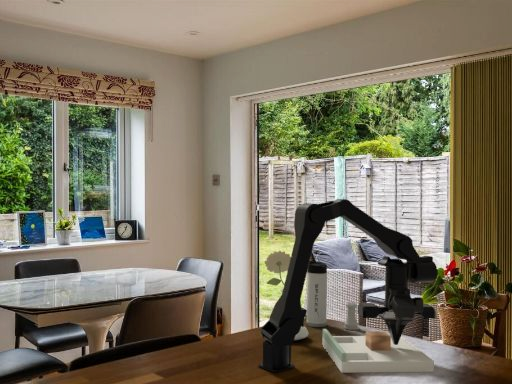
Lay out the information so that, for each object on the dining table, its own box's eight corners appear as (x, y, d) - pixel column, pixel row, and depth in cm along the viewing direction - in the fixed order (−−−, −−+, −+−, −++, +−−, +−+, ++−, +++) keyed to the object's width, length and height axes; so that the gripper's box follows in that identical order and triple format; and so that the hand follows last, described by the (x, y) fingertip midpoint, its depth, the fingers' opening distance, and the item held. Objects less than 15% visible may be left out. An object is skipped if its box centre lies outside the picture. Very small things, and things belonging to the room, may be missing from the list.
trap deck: (341, 372, 128) (341, 353, 128) (322, 345, 151) (322, 328, 151) (433, 371, 129) (434, 352, 129) (400, 344, 152) (401, 328, 152)
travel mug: (314, 321, 179) (315, 260, 179) (330, 325, 174) (331, 262, 174) (301, 324, 174) (302, 261, 174) (317, 328, 170) (318, 263, 170)
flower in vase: (311, 335, 162) (312, 249, 162) (305, 345, 150) (306, 253, 151) (267, 331, 165) (268, 248, 165) (259, 341, 153) (260, 252, 154)
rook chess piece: (348, 326, 173) (348, 300, 173) (361, 328, 171) (361, 302, 171) (341, 328, 170) (341, 302, 170) (353, 331, 167) (354, 304, 167)
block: (370, 350, 137) (371, 336, 137) (365, 345, 142) (365, 331, 142) (390, 350, 138) (390, 336, 138) (384, 344, 143) (384, 331, 143)
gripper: (369, 288, 132) (368, 353, 132) (445, 288, 133) (444, 353, 133) (357, 280, 143) (356, 341, 143) (427, 281, 144) (426, 341, 144)
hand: (395, 344), depth 140 cm, fingers closed
